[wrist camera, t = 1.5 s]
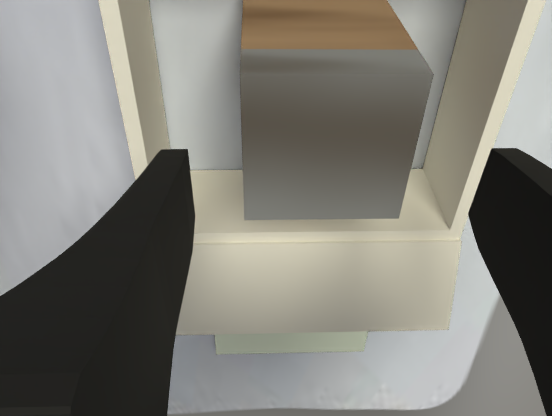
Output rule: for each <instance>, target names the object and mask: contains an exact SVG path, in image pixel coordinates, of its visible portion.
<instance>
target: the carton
mask: <svg viewBox="0 0 552 416" xmlns="http://www.w3.org/2000/svg"><path fill="white" fill-rule="evenodd" d="M98 1H99V6H100V11H101V16H102V21H103V25H104V30H105V35H106V40H107V45H108V50H109V54H110V59H111V64H112V69H113V74H114V79H115V83H116V88H117V93H118V98H119V103H120V107H121V112H122V117H123V122H124V127H125V132H126V136H127V141H128V146H129V151H130V156H131V161H132V165H133V170H134V175H135V180H136V179H137V178H138V177H139V176H140V175H141V173H142V172H143V171H144V170H145V168H146V167H147V166H148V165H149V163H150V162H151V161H152V159H153V158H154V157H155V156H156V154H157V153H158V152H159V151H160V150H161V149H170V145H169V138H168V131H167V124H166V117H165V110H164V103H163V96H162V89H161V82H160V75H159V68H158V61H157V54H156V47H155V40H154V33H153V26H152V19H151V12H150V5H149V0H98ZM545 2H546V0H466V4H465V8H464V12H463V16H462V20H461V23H460V27H459V31H458V35H457V39H456V43H455V47H454V50H453V54H452V58H451V62H450V66H449V70H448V73H447V77H446V81H445V85H444V89H443V93H442V96H441V100H440V104H439V108H438V112H437V116H436V120H435V123H434V127H433V131H432V135H431V139H430V143H429V146H428V150H427V154H426V158H425V162H424V166H423V169H411V170H410V174H409V178H408V183H407V187H406V191H405V195H404V199H403V203H402V208H401V212H400V216H399V219H308V220H244V193H243V170H190V174H191V182H192V191H193V200H194V208H195V228H194V241H193V252H192V257H191V262H190V267H189V272H188V277H187V282H186V286H185V291H184V296H183V301H182V305H181V310H180V315H179V320H178V325H177V329H176V335H215V334H265V333H314V332H364V331H414V330H449V323H450V317H451V310H452V303H453V296H454V290H455V283H456V276H457V270H458V263H459V256H460V249H461V243H462V241H461V240H460V237H461V234H462V232H463V229H464V226H465V223H466V221H467V218H468V212H469V209H470V207H471V204H472V201H473V198H474V195H475V193H476V190H477V187H478V184H479V181H480V179H481V176H482V173H483V170H484V167H485V165H486V162H487V159H488V156H489V154H490V151H491V148H493V146H494V143H495V140H496V138H497V135H498V132H499V129H500V127H501V124H502V121H503V118H504V115H505V113H506V110H507V107H508V104H509V102H510V99H511V96H512V93H513V91H514V88H515V85H516V82H517V79H518V77H519V74H520V71H521V68H522V66H523V63H524V60H525V57H526V55H527V52H528V49H529V46H530V44H531V41H532V38H533V35H534V32H535V30H536V27H537V24H538V21H539V19H540V16H541V13H542V10H543V8H544V5H545Z"/></svg>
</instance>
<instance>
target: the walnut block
mask: <svg viewBox="0 0 552 416" xmlns="http://www.w3.org/2000/svg"><path fill="white" fill-rule="evenodd" d="M433 75H434V74H433V72H432V71H431V69H430V67H429V66H428V64H427V63H426V61H425V59H424V58H423V56H422V55H421V53H420V52H419V50H418V48H417V47H416V45H415V44H414V42H413V41H412V39H411V37H410V36H409V34H408V33H407V31H406V30H405V28H404V26H403V25H402V23H401V22H400V20H399V19H398V17H397V15H396V14H395V12H394V11H393V9H392V8H391V6H390V4H389V3H388V1H387V0H243V14H242V37H241V59H240V94H241V127H242V160H243V193H244V220H308V219H399V216H400V212H401V208H402V203H403V199H404V195H405V191H406V187H407V183H408V178H409V174H410V170H411V166H412V162H413V158H414V153H415V149H416V145H417V141H418V137H419V133H420V129H421V124H422V120H423V116H424V112H425V108H426V104H427V99H428V95H429V91H430V87H431V83H432V79H433Z"/></svg>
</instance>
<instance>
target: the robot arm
mask: <svg viewBox="0 0 552 416" xmlns="http://www.w3.org/2000/svg"><path fill="white" fill-rule="evenodd" d="M468 215H469V219H470V222H471V226H472V230H473V233H474V236H475V239H476V242H477V246H478V249H479V251H480V253H481V255H482V257H483V260H484V262H485V264H486V266H487V268H488V270H489V272H490V274H491V277H492V279H493V281H494V283H495V285H496V287H497V289H498V291H499V293H500V295H501V297H502V299H503V301H504V303H505V305H506V307H507V309H508V312H509V313H510V315H511V318H512V320H513V322H514V324H515V326H516V328H517V331H518V333H519V336H520V338H521V340H522V343H523V345H524V348H525V351H526V354H527V357H528V360H529V363H530V365H531V368H532V371H533V373H534V377H535V380H536V383H537V386H538V390H539V393H540V396H541V399H542V402H543V406H544V409H545V412H546V415H547V416H552V169H551V168H549V167H548V166H546V165H545V164H543V163H541V162H540V161H538V160H537V159H535V158H533V157H532V156H530V155H528V154H526V153H525V152H523V151H521V150H519V149H517V148H491V151H490V154H489V156H488V159H487V162H486V165H485V167H484V170H483V173H482V176H481V179H480V181H479V184H478V187H477V190H476V193H475V195H474V198H473V201H472V204H471V207H470V209H469V212H468ZM194 228H195V208H194V200H193V191H192V182H191V174H190V165H189V156H188V149H161V150H160V151H159V152H158V153H157V154H156V156H155V157H154V158H153V159H152V161H151V162H150V163H149V165H148V166H147V167H146V168H145V170H144V171H143V172H142V173H141V175H140V176H139V177H138V178H137V179H136V181H135V182H134V183H133V184H132V185H131V187H130V188H129V189H128V190H127V191H126V192H125V193H124V194H123V196H122V197H121V198H120V199H119V200H118V201H117V202H116V203H115V205H114V206H113V207H112V208H111V209H110V210H109V211H108V212H107V213H106V214H105V215H104V216H103V217H102V218H101V219H100V220H99V221H98V222H97V223H96V224H95V225H94V226H93V227H92V228H91V229H90V230H89V231H88V232H86V233H85V234H84V235H83V236H82V237H81V238H80V239H79V240H78V241H76V242H75V243H74V244H73V245H72V246H70V247H69V248H68V249H67V250H66V251H64V252H63V253H62V254H61V255H59V256H58V257H57V258H56V259H54V260H53V261H51V262H50V263H49V264H47V265H46V266H44V267H43V268H41V269H40V270H39V271H37V272H36V273H34V274H33V275H32V276H30V277H29V278H27V279H26V280H25V281H23V282H22V283H20V284H19V285H17V286H16V287H14V288H13V289H11V290H9V291H8V292H6V293H5V294H3V295H1V296H0V416H167V410H168V398H169V387H170V377H171V367H172V358H173V348H174V342H175V335H176V329H177V325H178V320H179V315H180V310H181V305H182V301H183V296H184V291H185V286H186V282H187V277H188V272H189V267H190V262H191V257H192V252H193V241H194Z"/></svg>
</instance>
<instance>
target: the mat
mask: <svg viewBox="0 0 552 416" xmlns="http://www.w3.org/2000/svg"><path fill="white" fill-rule="evenodd" d="M367 334H368V331H364V332H314V333H265V334H215V345H216V354H262V353H308V352H354V351H364V347H365V343H366V339H367Z"/></svg>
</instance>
